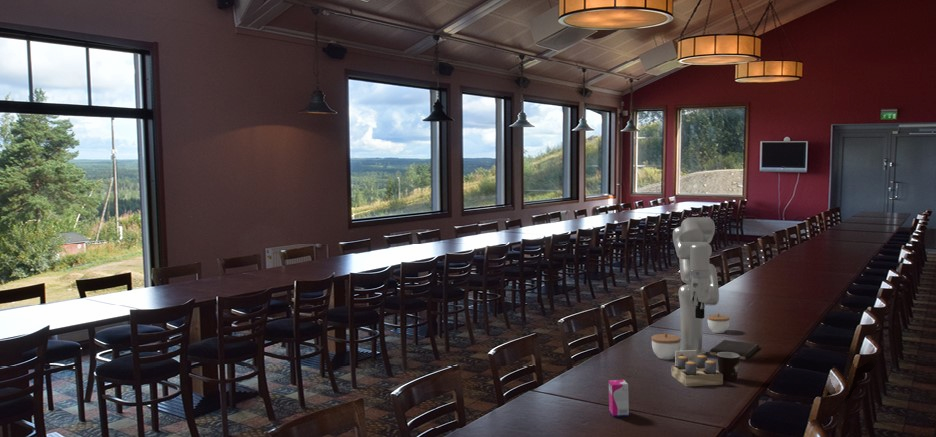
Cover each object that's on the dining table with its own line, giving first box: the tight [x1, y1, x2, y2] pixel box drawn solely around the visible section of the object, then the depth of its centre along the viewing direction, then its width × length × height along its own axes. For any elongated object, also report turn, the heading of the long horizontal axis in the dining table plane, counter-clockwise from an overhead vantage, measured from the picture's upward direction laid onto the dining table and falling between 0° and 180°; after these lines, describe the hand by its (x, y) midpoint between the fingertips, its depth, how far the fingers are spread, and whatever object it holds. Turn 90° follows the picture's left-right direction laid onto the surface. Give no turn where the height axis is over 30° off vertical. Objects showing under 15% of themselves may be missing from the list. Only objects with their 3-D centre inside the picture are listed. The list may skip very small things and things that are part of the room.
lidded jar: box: [706, 313, 730, 334], centre depth 354 cm, size 11×11×9 cm
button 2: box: [685, 361, 696, 376], centre depth 273 cm, size 4×4×5 cm
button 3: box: [696, 354, 708, 369], centre depth 282 cm, size 4×4×5 cm
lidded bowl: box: [650, 332, 681, 360], centre depth 311 cm, size 13×13×11 cm
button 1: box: [677, 356, 688, 370], centre depth 281 cm, size 4×4×5 cm
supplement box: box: [608, 379, 630, 418], centre depth 242 cm, size 6×6×12 cm
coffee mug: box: [716, 352, 741, 383], centre depth 278 cm, size 12×9×10 cm
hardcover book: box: [708, 339, 760, 361], centre depth 318 cm, size 16×23×2 cm
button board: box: [670, 364, 724, 387], centre depth 278 cm, size 15×15×4 cm
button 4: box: [705, 359, 717, 375], centre depth 274 cm, size 4×4×5 cm
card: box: [674, 350, 697, 365], centre depth 288 cm, size 1×9×9 cm, turn 95°
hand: (699, 317), depth 286 cm, fingers closed
